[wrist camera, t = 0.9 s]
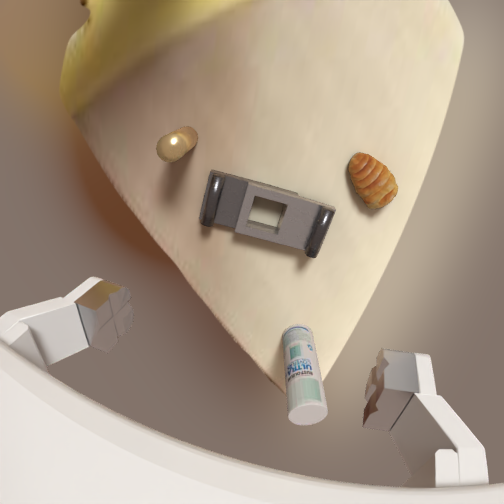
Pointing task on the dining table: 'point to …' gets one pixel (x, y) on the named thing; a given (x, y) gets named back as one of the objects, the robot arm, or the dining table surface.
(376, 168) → the pastry
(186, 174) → the dining table surface
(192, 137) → the gold rounded cylinder
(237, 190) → the grey roller block
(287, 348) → the spray can
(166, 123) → the dining table surface
